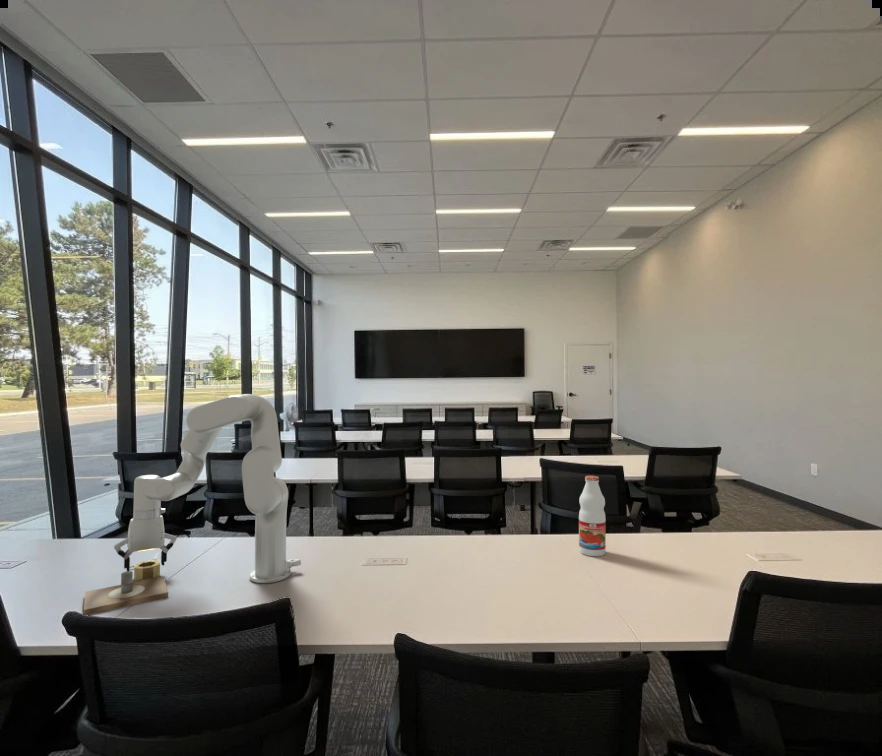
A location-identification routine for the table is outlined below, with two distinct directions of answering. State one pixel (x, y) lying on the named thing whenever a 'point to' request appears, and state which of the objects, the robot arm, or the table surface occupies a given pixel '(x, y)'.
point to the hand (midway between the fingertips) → (145, 567)
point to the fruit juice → (592, 519)
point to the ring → (146, 570)
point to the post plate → (125, 594)
